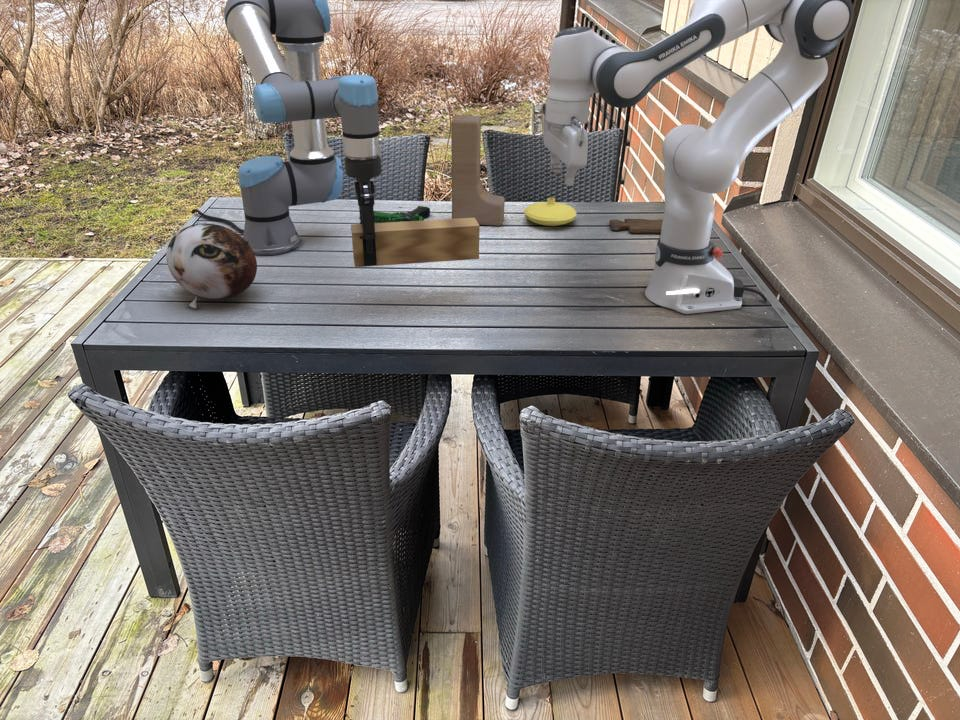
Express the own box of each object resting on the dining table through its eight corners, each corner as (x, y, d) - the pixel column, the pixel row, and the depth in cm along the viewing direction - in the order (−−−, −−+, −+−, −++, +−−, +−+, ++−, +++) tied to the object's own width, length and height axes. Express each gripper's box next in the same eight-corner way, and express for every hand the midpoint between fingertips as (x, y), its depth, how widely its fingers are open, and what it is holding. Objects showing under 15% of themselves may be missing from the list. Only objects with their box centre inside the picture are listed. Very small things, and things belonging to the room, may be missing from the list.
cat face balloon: (130, 285, 161) (164, 203, 163) (192, 308, 177) (221, 233, 178) (195, 307, 151) (229, 220, 152) (254, 330, 166) (285, 250, 168)
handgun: (435, 206, 218) (413, 220, 206) (436, 216, 220) (413, 230, 208) (389, 200, 224) (364, 213, 212) (389, 209, 225) (365, 223, 213)
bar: (354, 267, 158) (352, 233, 153) (353, 258, 162) (350, 224, 158) (479, 259, 163) (479, 225, 159) (474, 250, 167) (474, 217, 163)
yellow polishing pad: (541, 209, 225) (542, 187, 222) (585, 220, 218) (587, 197, 214) (513, 223, 214) (514, 200, 211) (559, 234, 206) (560, 211, 203)
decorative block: (501, 226, 212) (504, 122, 196) (451, 223, 213) (450, 120, 198) (504, 218, 218) (507, 116, 203) (455, 215, 220) (455, 114, 204)
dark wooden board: (700, 236, 208) (693, 224, 217) (701, 230, 207) (694, 219, 216) (612, 233, 208) (607, 221, 217) (613, 227, 207) (608, 216, 216)
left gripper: (384, 167, 141) (390, 275, 153) (376, 143, 157) (382, 243, 169) (346, 168, 140) (355, 277, 152) (342, 145, 155) (350, 245, 167)
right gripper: (598, 123, 141) (591, 191, 148) (567, 102, 158) (562, 164, 165) (568, 124, 140) (562, 193, 147) (539, 103, 157) (535, 165, 164)
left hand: (369, 259), depth 160 cm, fingers closed on bar, 5 cm apart
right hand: (562, 178), depth 156 cm, fingers open, 8 cm apart
